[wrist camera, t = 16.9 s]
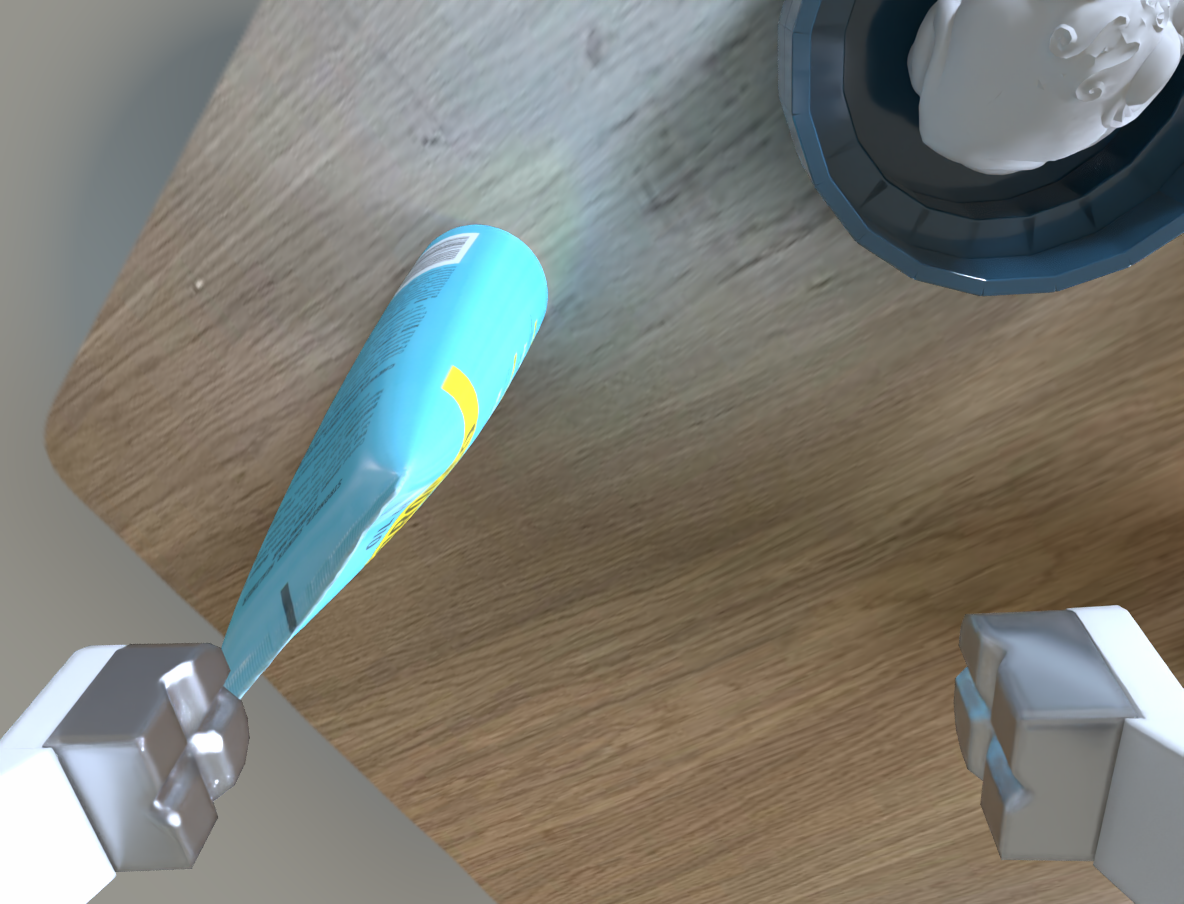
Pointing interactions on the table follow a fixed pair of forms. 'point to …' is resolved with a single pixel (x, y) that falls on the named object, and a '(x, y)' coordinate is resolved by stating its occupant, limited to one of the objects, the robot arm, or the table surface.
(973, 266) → the bowl
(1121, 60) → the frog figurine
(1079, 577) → the table surface
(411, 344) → the tube
